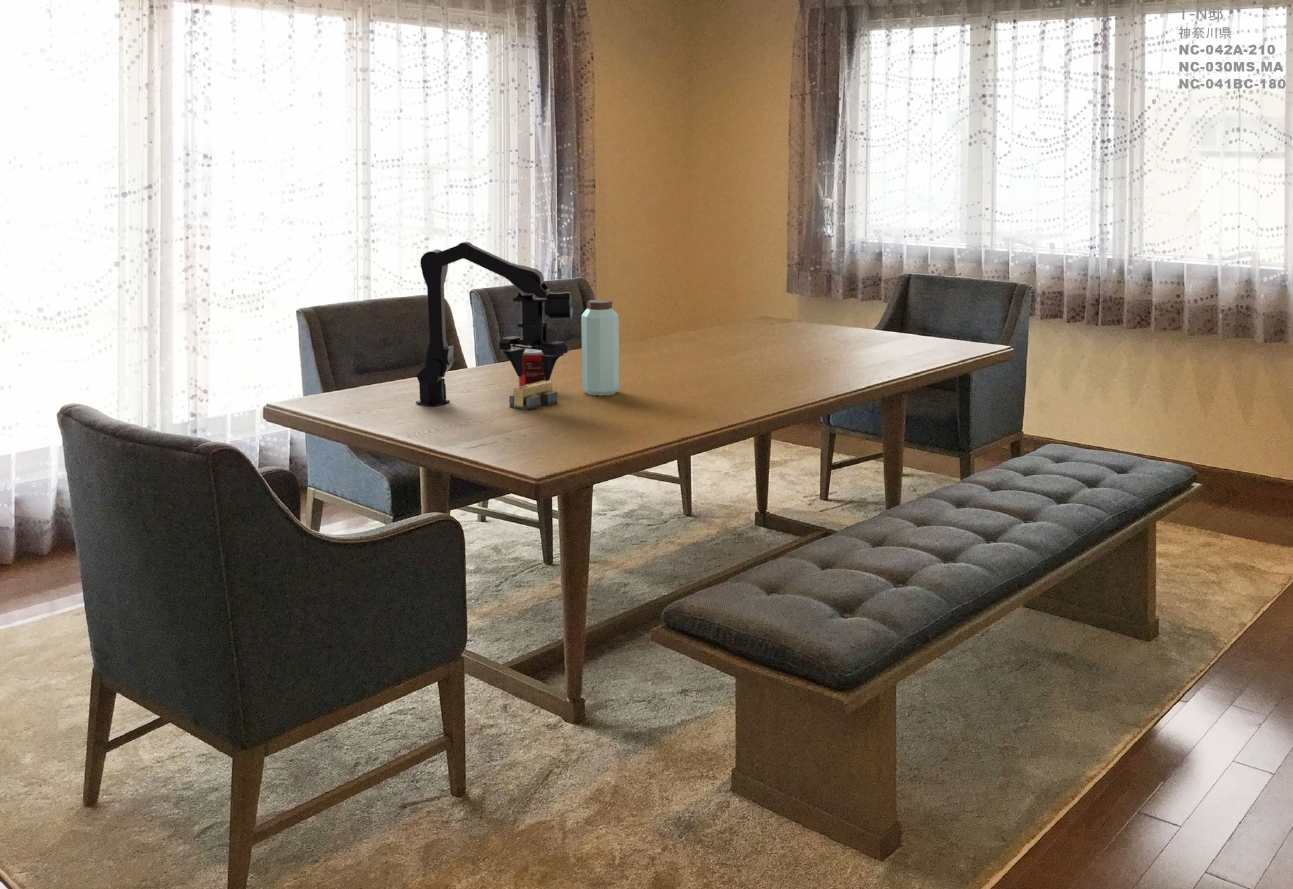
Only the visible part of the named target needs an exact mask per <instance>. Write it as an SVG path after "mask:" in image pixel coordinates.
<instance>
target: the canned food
mask: <svg viewBox="0 0 1293 889" xmlns="http://www.w3.org/2000/svg"><path fill="white" fill-rule="evenodd" d="M524 349H525V351H524V353H523V355H522V377H518V379H519V380H518V382H519V386H523V385H527V384H531V383H535V382H539V381H546V380H545V376H544V370H543V364H542V358H541V356H542V355H544V354H543V352H542V350H535V349H526V348H524ZM519 386H518V387H519Z"/></svg>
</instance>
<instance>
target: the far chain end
mask: <svg viewBox="0 0 1293 889" xmlns="http://www.w3.org/2000/svg"><path fill="white" fill-rule="evenodd" d="M554 404H558V391H557V390H552V391H551V392H548V393H544V401H541V402H540V405H542V406H543V405H544V406H551V405H554Z"/></svg>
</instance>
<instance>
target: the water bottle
mask: <svg viewBox="0 0 1293 889" xmlns="http://www.w3.org/2000/svg"><path fill="white" fill-rule="evenodd" d="M619 320H620V318H619V314H618V313H617V312H616V311H615V310H614V308H613V301H612V300H610V299H590V300H588V301H587V303H586V309H585V310H584V312H583V313H582V314H581V320H580V321H581V323H580V324H581V325H580V326H581V379H582V380H581V381H582V382H581V383H582V390H583V391H584V393H586V394H587V395H589V396H596V395H599V397H603V396H602V395H605V396H612V395H615V394H616V393H617V392H618V391H619V389H620V342H619V341H620V324H619V322H620V321H619Z"/></svg>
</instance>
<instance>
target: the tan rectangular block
mask: <svg viewBox="0 0 1293 889" xmlns="http://www.w3.org/2000/svg"><path fill="white" fill-rule="evenodd" d="M551 391H553V381H550V380H548V381H539V382H535V383H531V384H527V385H523V386H516V387H513V394H514V405H517V406H526V398H528V397H532V396H536V395H537V396H540V402H541V401H544V393H548V392H551Z"/></svg>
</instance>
